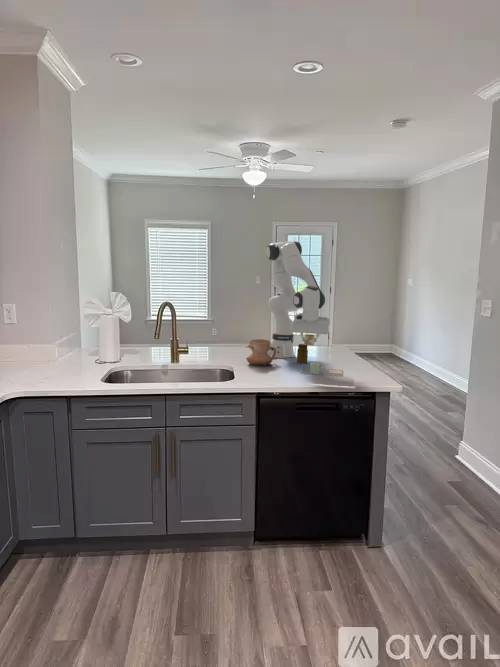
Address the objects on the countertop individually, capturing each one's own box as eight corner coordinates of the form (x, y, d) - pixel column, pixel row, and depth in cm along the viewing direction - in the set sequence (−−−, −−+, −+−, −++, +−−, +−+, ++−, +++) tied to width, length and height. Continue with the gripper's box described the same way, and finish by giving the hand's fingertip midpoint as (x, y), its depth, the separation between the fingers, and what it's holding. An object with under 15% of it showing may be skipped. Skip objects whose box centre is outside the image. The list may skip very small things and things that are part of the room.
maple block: (304, 344, 236) (304, 335, 235) (304, 343, 241) (305, 334, 240) (313, 345, 235) (313, 336, 234) (313, 343, 240) (314, 334, 239)
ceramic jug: (243, 366, 245) (244, 342, 243) (246, 361, 259) (247, 337, 257) (275, 368, 243) (276, 343, 241) (276, 362, 257) (277, 339, 255)
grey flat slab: (300, 375, 229) (300, 373, 228) (303, 368, 243) (303, 366, 243) (343, 378, 224) (343, 376, 224) (342, 371, 239) (343, 369, 239)
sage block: (309, 373, 229) (310, 364, 228) (310, 371, 233) (310, 362, 233) (319, 374, 228) (319, 365, 227) (319, 372, 233) (319, 363, 232)
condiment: (303, 363, 258) (304, 343, 256) (311, 366, 250) (312, 345, 248) (293, 364, 255) (294, 344, 253) (301, 367, 247) (302, 346, 245)
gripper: (330, 316, 236) (328, 341, 239) (292, 314, 240) (291, 339, 243) (329, 318, 230) (328, 343, 233) (291, 316, 234) (290, 341, 237)
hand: (309, 341), depth 238 cm, fingers closed on maple block, 5 cm apart
